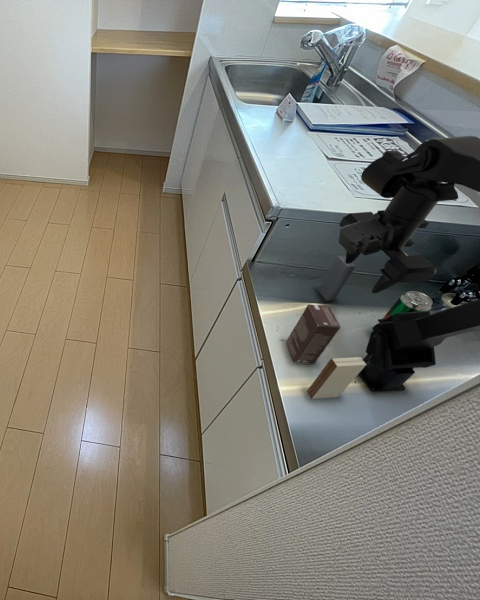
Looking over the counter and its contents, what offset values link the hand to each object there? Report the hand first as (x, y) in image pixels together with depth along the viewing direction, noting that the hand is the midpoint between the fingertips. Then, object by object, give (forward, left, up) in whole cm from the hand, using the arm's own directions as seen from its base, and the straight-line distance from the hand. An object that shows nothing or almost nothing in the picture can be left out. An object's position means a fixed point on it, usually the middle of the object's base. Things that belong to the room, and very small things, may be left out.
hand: (360, 277), depth 72 cm
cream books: (-19, +12, -13) cm, 26 cm away
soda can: (-6, -8, -13) cm, 17 cm away
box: (-9, +12, -13) cm, 20 cm away
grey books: (+8, -3, -13) cm, 16 cm away
